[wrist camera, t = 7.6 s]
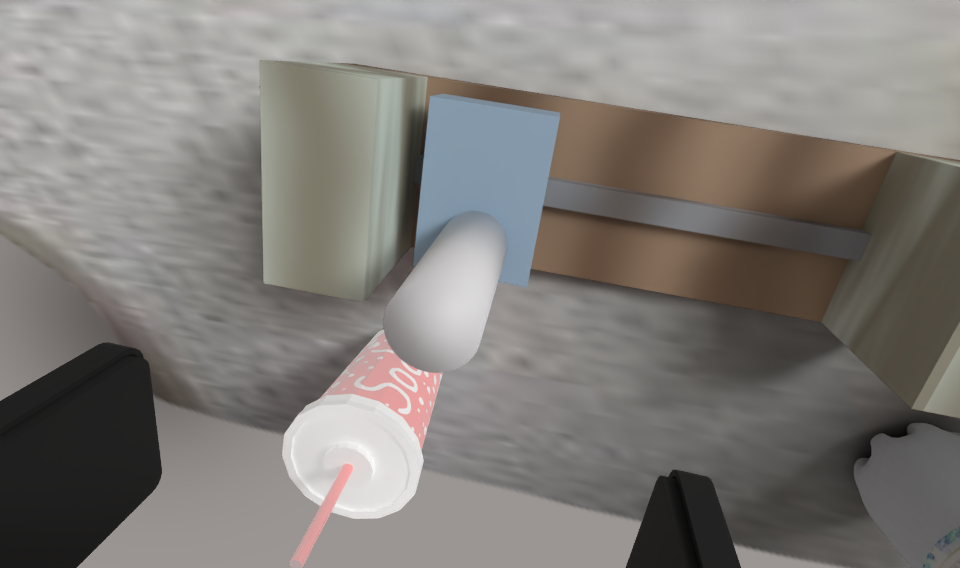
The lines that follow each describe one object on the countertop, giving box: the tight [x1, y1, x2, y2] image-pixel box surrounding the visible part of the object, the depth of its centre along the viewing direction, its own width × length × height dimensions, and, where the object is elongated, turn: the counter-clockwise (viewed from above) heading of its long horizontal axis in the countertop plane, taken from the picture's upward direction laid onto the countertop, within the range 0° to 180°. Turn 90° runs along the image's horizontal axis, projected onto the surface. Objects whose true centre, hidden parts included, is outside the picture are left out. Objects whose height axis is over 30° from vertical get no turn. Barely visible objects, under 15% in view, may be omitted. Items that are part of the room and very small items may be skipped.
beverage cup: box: [282, 329, 442, 568], centre depth 24 cm, size 6×6×14 cm
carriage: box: [383, 94, 560, 373], centre depth 19 cm, size 5×7×10 cm
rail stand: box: [260, 60, 960, 418], centre depth 22 cm, size 28×8×8 cm, turn 82°
